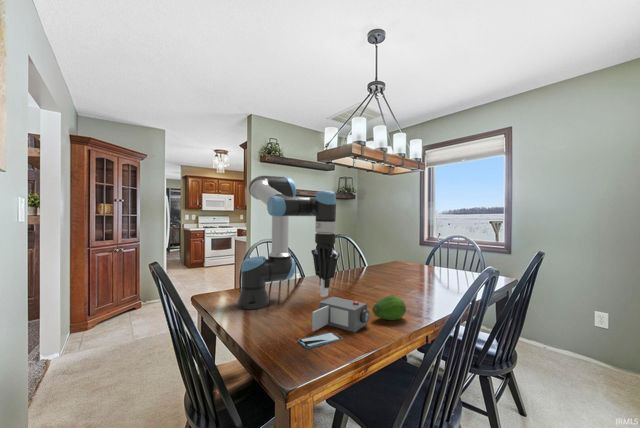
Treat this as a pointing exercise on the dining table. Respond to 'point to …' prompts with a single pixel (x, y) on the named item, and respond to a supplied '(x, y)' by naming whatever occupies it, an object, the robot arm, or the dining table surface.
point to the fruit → (389, 308)
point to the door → (320, 318)
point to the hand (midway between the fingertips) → (324, 295)
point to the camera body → (346, 313)
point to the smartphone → (319, 340)
